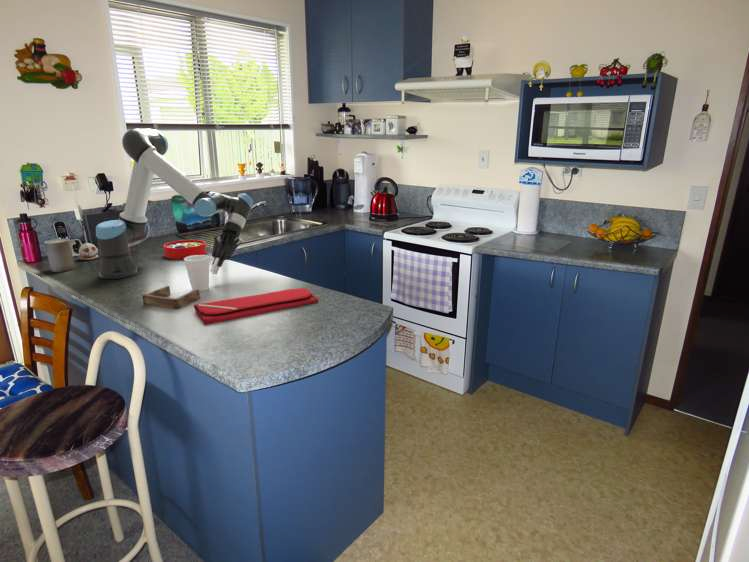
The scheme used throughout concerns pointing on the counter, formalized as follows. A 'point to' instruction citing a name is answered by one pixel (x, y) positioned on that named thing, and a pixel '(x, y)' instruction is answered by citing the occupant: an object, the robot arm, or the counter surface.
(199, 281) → the foam cup
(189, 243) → the red round bowl
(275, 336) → the counter surface
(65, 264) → the grey tapered container
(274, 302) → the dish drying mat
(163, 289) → the brown bent bar
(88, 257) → the decorative ornament
